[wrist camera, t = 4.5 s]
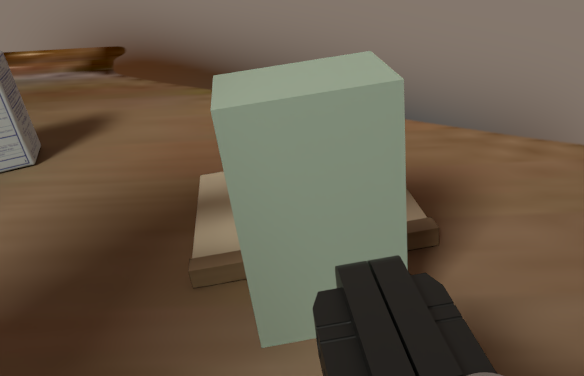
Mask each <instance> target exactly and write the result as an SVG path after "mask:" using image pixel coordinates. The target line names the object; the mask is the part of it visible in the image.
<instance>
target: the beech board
mask: <svg viewBox="0 0 584 376" xmlns="http://www.w3.org/2000/svg"><path fill="white" fill-rule="evenodd" d="M406 216H407V250H413V249H418V248H424V247H430V246H435V245H439V227H438V225H437V224H436V223H435V221H434V220H433V218H432V217H428V218H427V217H426V215H425V214H424V212H423V211H422V209H421V208H420V207H419V205H418V204H417V202H416V201H415V199H414V198H413V197H412V195H411V194H410V192H409V191H408V189H407V188H406ZM188 273H189V276H190V280H191V283H192V287H193V288H197V287H203V286H208V285H214V284H220V283H225V282H231V281H237V280H242V279H247V277H246V273H245V268H244V263H243V259H242V254H241V249H240V245H239V240H238V235H237V231H236V226H235V221H234V217H233V212H232V207H231V203H230V198H229V193H228V189H227V184H226V180H225V175H224V172H218V173H212V174H206V175H200V184H199V194H198V204H197V214H196V224H195V234H194V244H193V254H192V259H189V268H188Z"/></svg>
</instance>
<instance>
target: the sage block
mask: <svg viewBox="0 0 584 376" xmlns="http://www.w3.org/2000/svg"><path fill="white" fill-rule="evenodd" d="M211 114H212V119H213V124H214V128H215V133H216V138H217V142H218V147H219V152H220V156H221V161H222V166H223V170H224V175H225V180H226V184H227V189H228V193H229V198H230V203H231V207H232V212H233V217H234V221H235V226H236V231H237V235H238V240H239V245H240V249H241V254H242V259H243V263H244V268H245V273H246V277H247V282H248V287H249V291H250V296H251V301H252V305H253V310H254V315H255V319H256V324H257V329H258V333H259V338H260V343H261V347H262V348H264V347H270V346H275V345H281V344H286V343H292V342H297V341H303V340H308V339H314V338H316V331H315V324H314V317H313V309H312V308H313V305H314V302H315V299H316V296H317V293H318V292H319V291H324V290H330V289H336V288H337V286H336V276H335V266H338V265H344V264H349V263H355V262H361V261H368V260H373V259H379V258H385V257H391V256H396V255H399V256H400V257H401V259H402V261H403V262H404V264H405V266H406V268H407V270H408V266H407V216H406V166H405V116H404V79H403V78H402V77H401V76H399V75H398V74H397V73H396V72H395V71H393V70H392V69H391V68H390V67H389V66H388V65H386V64H385V63H384V62H383V61H382V60H381V59H379V58H378V57H377V56H376V55H375V54H373V53H372V52H371V51H367V52H361V53H354V54H348V55H342V56H335V57H329V58H323V59H316V60H310V61H304V62H297V63H291V64H284V65H278V66H272V67H265V68H259V69H253V70H246V71H240V72H233V73H228V74H221V75H214V76H213V87H212V100H211Z"/></svg>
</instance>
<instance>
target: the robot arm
mask: <svg viewBox="0 0 584 376" xmlns="http://www.w3.org/2000/svg"><path fill="white" fill-rule="evenodd" d="M335 276H336V286H337V288H336V289H330V290H324V291H319V292H318V293H317V296H316V299H315V302H314V305H313V308H312V309H313V317H314V324H315V331H316V339H317V346H318V353H319V359H320V364H321V368H322V373H323V376H503V375H500V374H497V372H496V371H495V370H494V368H493V366H492V365H491V363H490V361H489V360H488V358H487V356H486V355H485V353H484V352H483V350H482V348H481V347H480V345H479V343H478V342H477V340H476V338H475V337H474V335H473V334H472V332H471V330H470V329H469V327H468V325H467V324H466V322H465V320H464V319H462V316H461V314H460V312H459V311H458V309H457V307H456V306H455V305H454V304H453V301H452V299H451V297H450V296H449V294H448V293H447V291H446V289H445V288H444V286H443V285H442V284H440V283H439V282H438V281H436V280H435V279H434V278H432V277H431V276H429V275H428V274H427V273H422V274H416V275H410V274H409V272H408V270H407V268H406V266H405V264H404V262H403V261H402V259H401V257H400V256H399V255H396V256H391V257H385V258H379V259H373V260H368V261H361V262H355V263H349V264H344V265H338V266H335Z"/></svg>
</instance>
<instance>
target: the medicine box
mask: <svg viewBox="0 0 584 376" xmlns="http://www.w3.org/2000/svg"><path fill="white" fill-rule="evenodd" d="M40 147H41V144H40V141H39V139H38V136H37V134H36V131H35V129H34V127H33V124H32V122H31V120H30V117H29V115H28V112H27V110H26V108H25V105H24V103H23V100H22V98H21V95H20V93H19V90H18V88H17V86H16V83H15V81H14V78H13V76H12V73H11V71H10V68H9V66H8V64H7V61H6V58H5V56H4V54H3V52H2V51H0V172H4V171H9V170H13V169H17V168H21V167H26V166H30V165H34V164H35V162H36V159H37V156H38V153H39V150H40Z"/></svg>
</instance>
